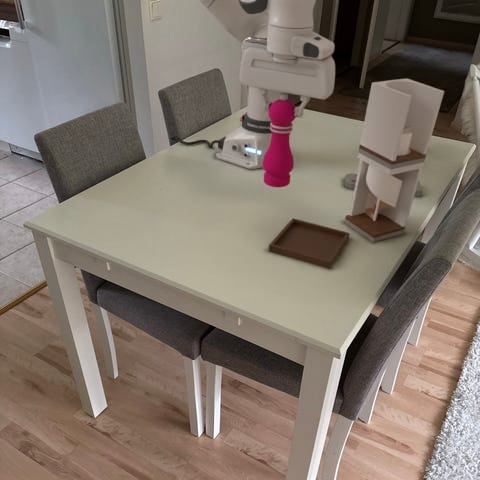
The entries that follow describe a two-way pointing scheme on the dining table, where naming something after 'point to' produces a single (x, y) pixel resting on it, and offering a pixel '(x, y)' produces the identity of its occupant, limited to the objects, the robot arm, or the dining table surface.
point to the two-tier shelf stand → (392, 155)
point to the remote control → (351, 178)
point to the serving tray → (309, 243)
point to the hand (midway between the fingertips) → (282, 113)
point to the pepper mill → (279, 143)
